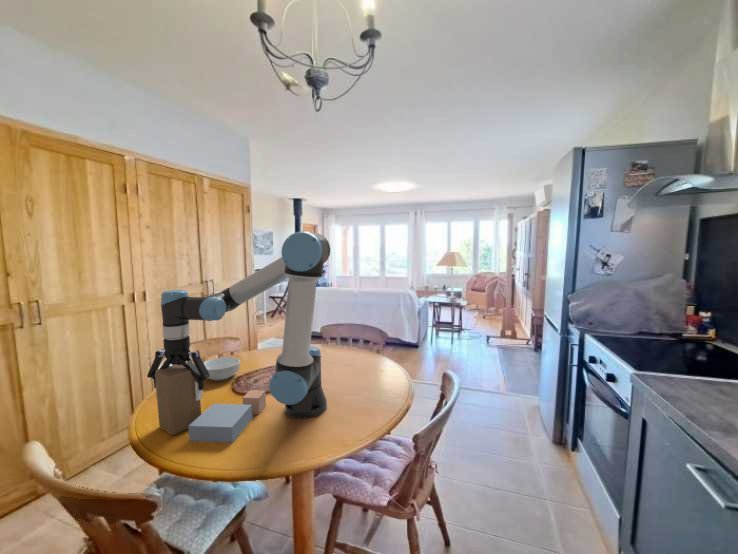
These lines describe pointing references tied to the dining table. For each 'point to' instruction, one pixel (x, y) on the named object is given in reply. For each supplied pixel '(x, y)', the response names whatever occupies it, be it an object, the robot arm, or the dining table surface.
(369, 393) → the dining table surface
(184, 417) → the wooden block
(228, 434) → the plinth
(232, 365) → the cereal bowl
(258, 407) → the terracotta cube
